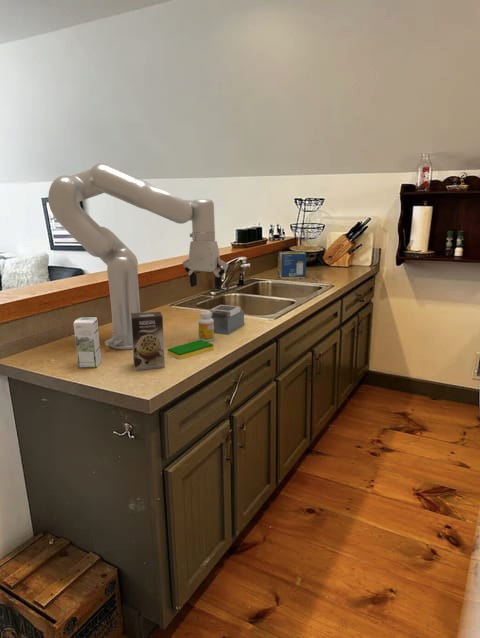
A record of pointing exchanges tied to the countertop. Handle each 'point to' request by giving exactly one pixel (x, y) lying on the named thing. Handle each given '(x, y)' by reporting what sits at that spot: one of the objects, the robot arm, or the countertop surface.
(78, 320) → the syrup box
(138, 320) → the coffee box
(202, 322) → the supplement bottle
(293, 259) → the protein box
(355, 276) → the countertop surface
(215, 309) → the box
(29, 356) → the countertop surface
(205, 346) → the dish sponge
